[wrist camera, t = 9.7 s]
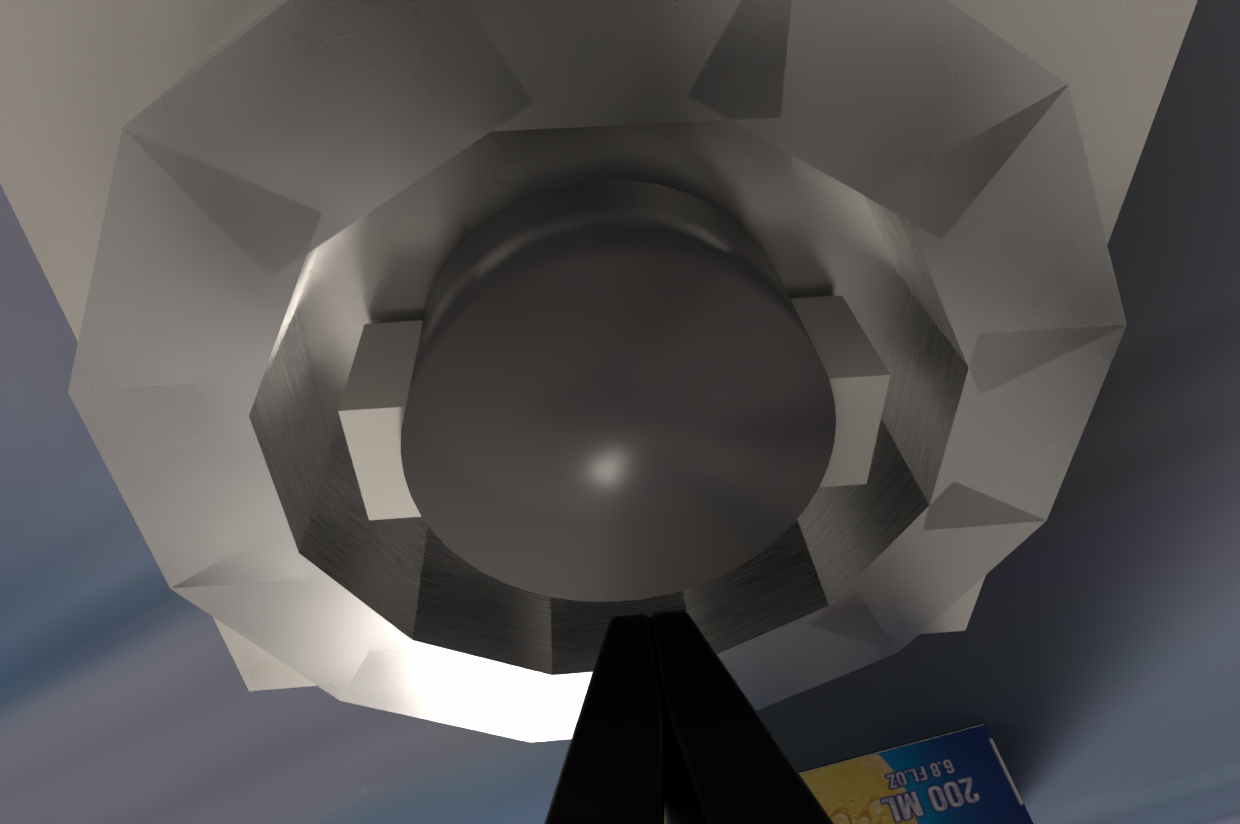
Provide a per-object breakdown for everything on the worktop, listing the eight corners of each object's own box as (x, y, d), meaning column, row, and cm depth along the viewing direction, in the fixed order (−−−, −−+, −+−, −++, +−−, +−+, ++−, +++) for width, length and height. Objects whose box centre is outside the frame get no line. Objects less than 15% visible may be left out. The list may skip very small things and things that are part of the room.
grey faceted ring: (954, 609, 19) (1019, 734, 17) (256, 668, 18) (213, 808, 16) (1264, -281, 10) (1525, -303, 7) (-174, -252, 9) (-461, -266, 6)
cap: (808, 477, 16) (850, 582, 14) (411, 505, 15) (391, 620, 13) (858, 166, 12) (926, 247, 10) (337, 192, 12) (295, 282, 9)
